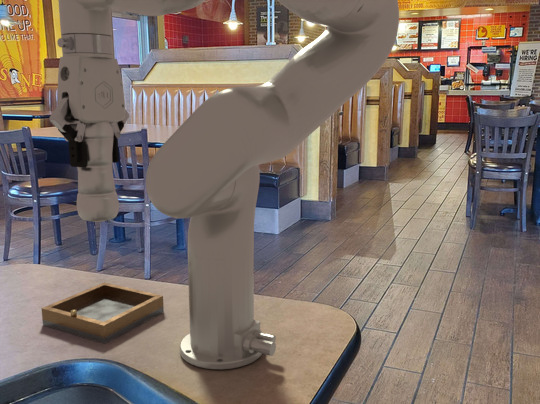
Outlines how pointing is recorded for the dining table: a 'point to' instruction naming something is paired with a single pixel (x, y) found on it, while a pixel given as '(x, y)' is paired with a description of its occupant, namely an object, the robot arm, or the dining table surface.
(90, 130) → the plastic bottle
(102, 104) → the robot arm
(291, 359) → the dining table surface
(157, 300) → the collar base
